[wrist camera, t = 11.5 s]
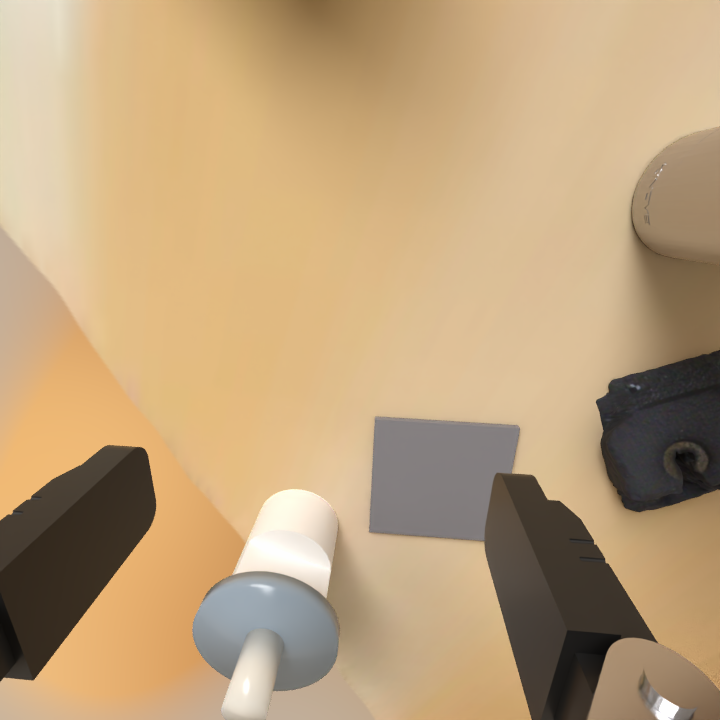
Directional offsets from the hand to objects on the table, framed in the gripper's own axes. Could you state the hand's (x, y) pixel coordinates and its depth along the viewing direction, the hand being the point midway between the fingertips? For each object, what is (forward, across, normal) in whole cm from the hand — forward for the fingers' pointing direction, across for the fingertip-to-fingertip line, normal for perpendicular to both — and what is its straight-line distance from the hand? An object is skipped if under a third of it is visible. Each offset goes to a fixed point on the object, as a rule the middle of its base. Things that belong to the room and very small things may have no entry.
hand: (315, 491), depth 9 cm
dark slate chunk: (+29, -34, +11) cm, 46 cm away
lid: (+16, +7, +27) cm, 32 cm away
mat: (+28, -8, +20) cm, 35 cm away
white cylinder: (+28, +7, +27) cm, 40 cm away
